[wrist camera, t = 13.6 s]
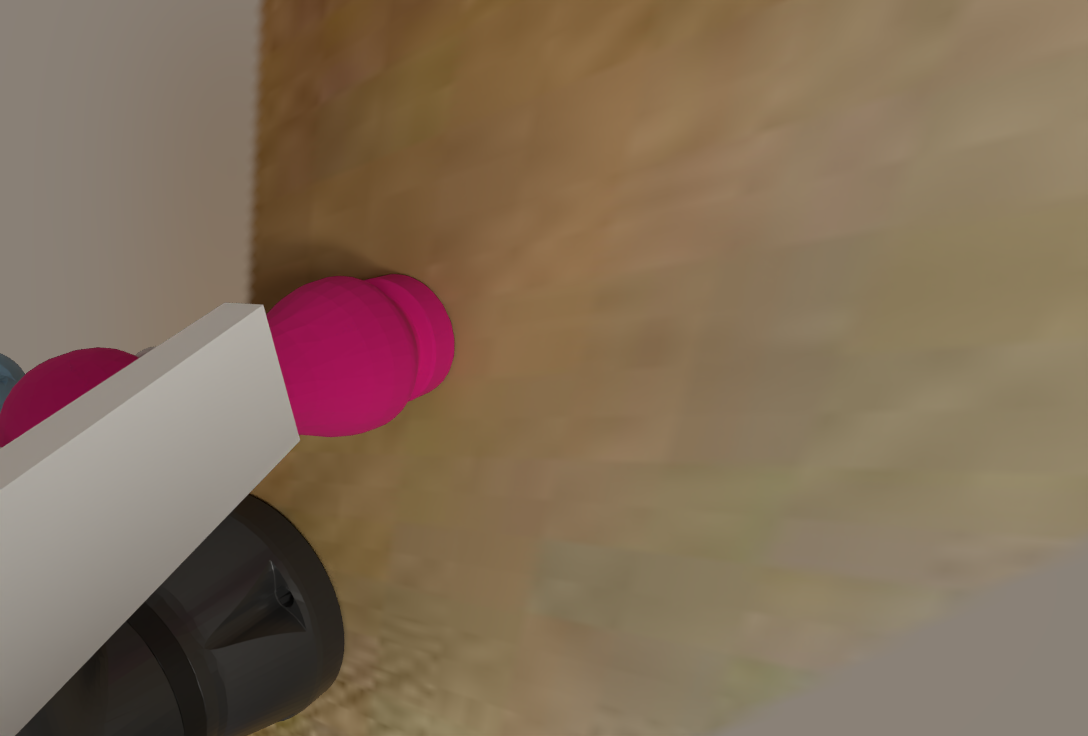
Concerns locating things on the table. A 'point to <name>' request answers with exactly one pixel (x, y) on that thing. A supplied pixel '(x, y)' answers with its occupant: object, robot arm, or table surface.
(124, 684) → the robot arm
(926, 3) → the table surface
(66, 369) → the pepper mill
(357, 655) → the table surface
